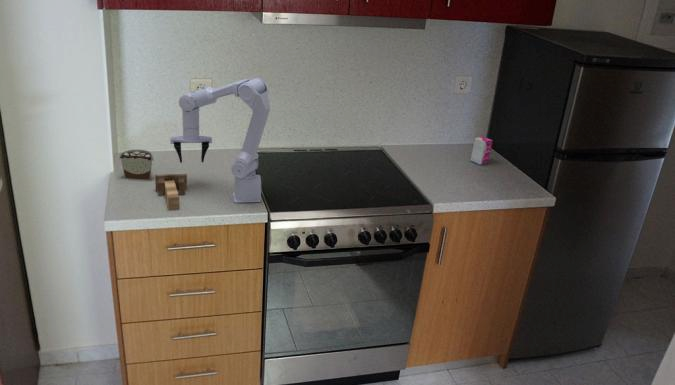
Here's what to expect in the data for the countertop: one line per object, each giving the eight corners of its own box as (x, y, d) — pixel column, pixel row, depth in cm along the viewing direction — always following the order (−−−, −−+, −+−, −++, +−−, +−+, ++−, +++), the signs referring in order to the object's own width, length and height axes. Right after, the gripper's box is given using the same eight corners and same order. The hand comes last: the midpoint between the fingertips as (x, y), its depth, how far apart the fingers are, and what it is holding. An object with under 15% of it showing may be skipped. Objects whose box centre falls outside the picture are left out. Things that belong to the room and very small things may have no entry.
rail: (164, 192, 217) (163, 180, 215) (174, 192, 218) (173, 179, 216) (168, 210, 204) (168, 197, 202) (179, 209, 206) (178, 196, 204)
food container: (158, 174, 230) (157, 150, 226) (154, 180, 225) (153, 156, 220) (125, 172, 229) (123, 147, 225) (120, 178, 224) (118, 153, 220)
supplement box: (480, 166, 267) (484, 141, 262) (469, 161, 271) (474, 137, 266) (488, 163, 270) (493, 139, 266) (478, 159, 274) (482, 135, 270)
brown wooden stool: (187, 188, 221) (186, 173, 218) (187, 194, 216) (187, 179, 214) (155, 189, 218) (155, 174, 215) (155, 195, 213) (154, 180, 211)
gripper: (210, 122, 219) (211, 156, 225) (169, 122, 215) (171, 157, 221) (212, 128, 213) (212, 164, 218) (170, 129, 209) (171, 164, 215)
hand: (191, 161), depth 219 cm, fingers open, 7 cm apart
